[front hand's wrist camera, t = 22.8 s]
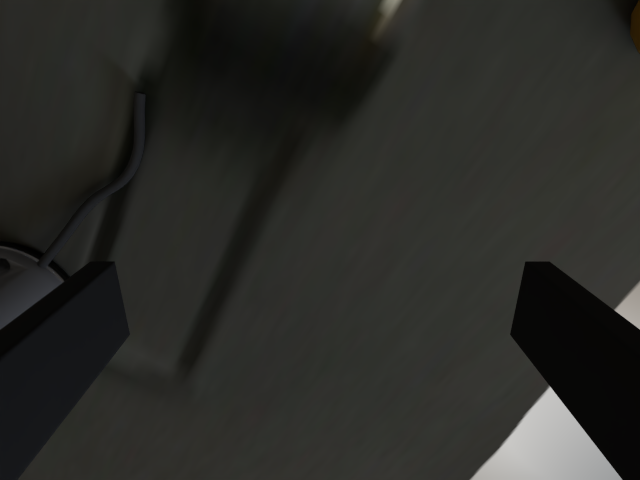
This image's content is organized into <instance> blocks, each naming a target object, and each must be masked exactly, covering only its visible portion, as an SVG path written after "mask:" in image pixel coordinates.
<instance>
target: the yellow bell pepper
mask: <svg viewBox="0 0 640 480" xmlns="http://www.w3.org/2000/svg"><path fill="white" fill-rule="evenodd" d="M630 35H631V37H632V40H633V42H634V44H635V46H636V48H637V51H638V52H639V54H640V0H638V2H637V4H636V6H635V8H634V10H633V12H632V14H631V27H630Z"/></svg>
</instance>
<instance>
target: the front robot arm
mask: <svg viewBox="0 0 640 480" xmlns="http://www.w3.org/2000/svg"><path fill="white" fill-rule="evenodd" d="M145 96H146V94H144V93H141V92H134V144H133V150H132V154H131V157H130V160H129V162H128V165H127V166H126V168H125V170H124V171H123V173H122V174H121V175H120V176H119V177H118V178H117V179H115V180H114V181H113V182H111V183H110V184H108V185H107V186H105V187H103V188H102V189H100V190H99V191H97V192H96V193H94V194H93V195H92V196H91V197H89V198H88V199H87V200H86V201H85V202H84V203H83V204H82V205H81V206H80V208H79V209H78V210H77V211H76V212H75V214H74V215H73V216H72V218H71V219H70V220H69V222H68V223H67V225H66V226H65V227H64V229H63V230H62V231H61V233H60V234H59V235H58V237H57V238H56V239H55V240H54V242H53V243H52V244H51V246H50V247H49V248H48V249H47V251H46V252H45V253H44V255H41V254H40V253H38V252H36V251H34V250H31V249H29V248H26V247H24V246H21V245H17V244H13V243H8V242H0V480H18V478H19V477H20V476H21V474H22V473H23V472H24V471H25V469H26V468H27V467H28V465H29V464H30V463H31V461H32V460H33V459H34V458H35V456H36V455H37V454H38V452H39V451H40V450H41V449H42V447H43V446H44V445H45V443H46V442H47V441H48V440H49V438H50V437H51V436H52V434H53V433H54V432H55V430H56V429H57V428H58V427H59V425H60V424H61V423H62V421H63V420H64V419H65V418H66V416H67V415H68V414H69V412H70V411H71V410H72V409H73V407H74V406H75V405H76V403H77V402H78V401H79V399H80V398H81V397H82V396H83V394H84V393H85V392H86V390H87V389H88V388H89V387H90V385H91V384H92V383H93V381H94V380H95V379H96V378H97V376H98V375H99V374H100V372H101V371H102V370H103V368H104V367H105V366H106V365H107V363H108V362H109V361H110V359H111V358H112V357H113V356H114V354H115V353H116V352H117V350H118V349H119V348H120V347H121V345H122V344H123V343H124V341H125V340H126V339H127V337H128V336H129V335H130V333H129V328H128V324H127V319H126V314H125V309H124V304H123V300H122V295H121V290H120V285H119V280H118V276H117V271H116V266H115V262H89V263H88V264H87V265H85V266H84V267H83V268H81V269H80V270H79V271H77V272H76V273H75V274H74V275H72V276H71V277H70V278H69V276H68V275H67V274H66V273H65V272H64V271H63V270H62V269H61V268H60V267H59V266H57V265H56V264H55V263H54V262H52V259H53V258H54V257H55V256H56V254H57V253H58V252H59V251H60V249H61V248H62V247H63V245H64V244H65V243H66V242H67V240H68V239H69V238H70V237H71V235H72V234H73V233H74V231H75V230H76V228H77V227H78V226H79V224H80V223H81V222H82V220H83V219H84V218H85V217H86V215H87V214H88V213H89V212H90V211H91V210H92V209H93V208H94V207H95V206H96V205H97V204H98V203H99V202H100V201H102V200H103V199H104V198H106V197H107V196H109V195H111V194H112V193H114V192H116V191H117V190H119V189H120V188H122V187H123V186H124V185H125V184H126V183H128V182H129V180H130V179H131V178H132V177H133V176H134V174H135V172H136V171H137V169H138V167H139V164H140V162H141V159H142V155H143V151H144V143H145ZM510 335H511V336H512V337H513V339H514V340H515V341H516V343H517V344H518V345H519V347H520V348H521V349H522V350H523V352H524V353H525V354H526V356H527V357H528V358H529V359H530V361H531V362H532V363H533V365H534V366H535V367H536V368H537V370H538V371H539V372H540V374H541V375H542V376H543V378H544V379H545V380H546V381H547V383H548V384H549V385H550V387H551V388H552V389H553V390H554V392H555V393H556V394H557V396H558V397H559V398H560V399H561V401H562V402H563V403H564V405H565V406H566V407H567V409H568V410H569V411H570V412H571V414H572V415H573V416H574V418H575V419H576V420H577V421H578V423H579V424H580V425H581V427H582V428H583V429H584V430H585V432H586V433H587V434H588V436H589V437H590V438H591V440H592V441H593V442H594V443H595V445H596V446H597V447H598V449H599V450H600V451H601V452H602V454H603V455H604V456H605V458H606V459H607V460H608V461H609V463H610V464H611V465H612V467H613V468H614V469H615V471H616V472H617V473H618V474H619V476H620V477H621V478H622V480H640V330H639V329H638V328H637V327H636V326H634V325H633V324H632V323H630V322H629V321H628V320H626V319H625V318H624V317H622V316H621V315H620V314H618V313H617V312H616V311H614V310H613V309H612V308H610V307H609V306H608V305H606V304H605V303H604V302H602V301H601V300H600V299H598V298H597V297H596V296H594V295H593V294H592V293H590V292H589V291H588V290H586V289H585V288H584V287H582V286H581V285H580V284H578V283H577V282H576V281H574V280H573V279H572V278H570V277H569V276H568V275H566V274H565V273H564V272H563V271H561V270H560V269H559V268H557V267H556V266H555V265H553V264H552V263H551V262H525V266H524V271H523V276H522V280H521V285H520V290H519V295H518V300H517V304H516V309H515V314H514V319H513V324H512V328H511V333H510Z"/></svg>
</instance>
